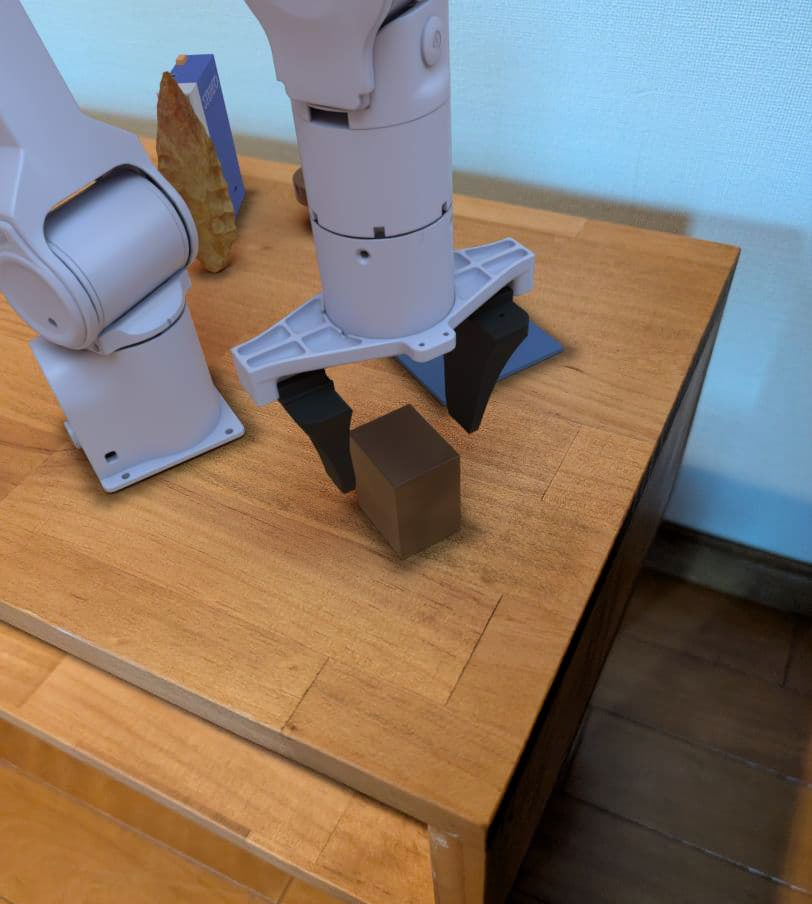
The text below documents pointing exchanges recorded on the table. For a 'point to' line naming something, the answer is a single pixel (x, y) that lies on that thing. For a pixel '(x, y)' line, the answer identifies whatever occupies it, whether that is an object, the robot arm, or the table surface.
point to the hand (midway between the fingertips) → (403, 450)
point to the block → (407, 480)
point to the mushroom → (299, 187)
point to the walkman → (211, 115)
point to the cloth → (524, 356)
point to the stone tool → (194, 173)
